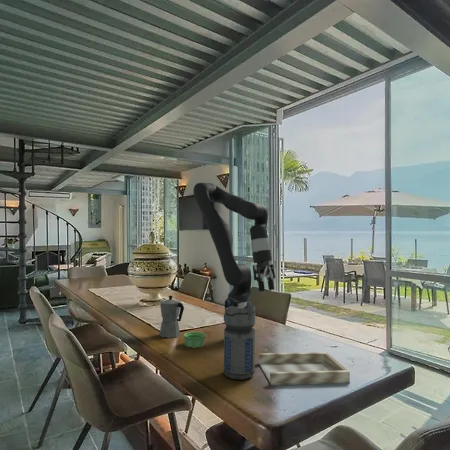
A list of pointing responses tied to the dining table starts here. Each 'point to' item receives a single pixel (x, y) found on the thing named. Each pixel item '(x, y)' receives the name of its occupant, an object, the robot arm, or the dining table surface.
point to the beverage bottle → (239, 339)
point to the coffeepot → (170, 317)
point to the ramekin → (194, 339)
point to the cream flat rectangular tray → (302, 368)
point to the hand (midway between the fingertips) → (267, 290)
